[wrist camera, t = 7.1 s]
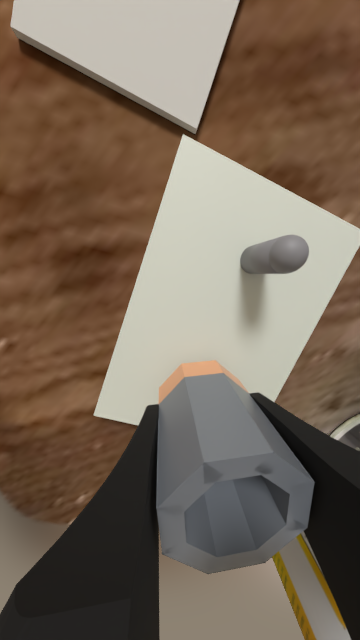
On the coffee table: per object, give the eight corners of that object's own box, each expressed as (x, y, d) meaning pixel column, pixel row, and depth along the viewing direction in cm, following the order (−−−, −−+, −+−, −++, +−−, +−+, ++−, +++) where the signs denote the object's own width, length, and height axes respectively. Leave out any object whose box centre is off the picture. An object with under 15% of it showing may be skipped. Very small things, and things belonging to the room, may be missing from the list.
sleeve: (238, 357, 11) (320, 445, 5) (237, 425, 12) (303, 555, 7) (156, 365, 11) (151, 470, 5) (163, 434, 12) (165, 582, 6)
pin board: (347, 236, 12) (467, 212, 7) (241, 437, 16) (277, 510, 11) (180, 150, 10) (198, 39, 5) (99, 403, 14) (64, 475, 9)
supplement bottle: (279, 494, 18) (546, 993, 5) (223, 475, 17) (409, 1077, 4) (321, 443, 17) (776, 924, 4) (265, 418, 15) (691, 1009, 3)
